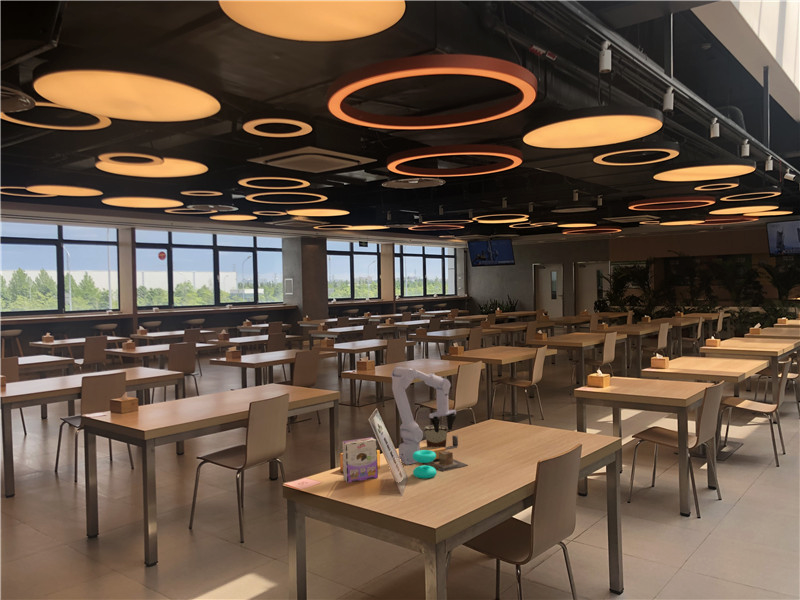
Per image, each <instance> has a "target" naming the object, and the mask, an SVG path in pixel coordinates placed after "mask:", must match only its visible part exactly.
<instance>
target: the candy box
mask: <svg viewBox="0 0 800 600" xmlns="http://www.w3.org/2000/svg"><path fill="white" fill-rule="evenodd" d="M341 442H342V444H341V445H342V446H341V447H342V470H343V472H342V473H343V480H344V481H345V482H346V483H355V482H360V481H365V480H367V481H368V480H371V479H373V480H374V479H377V478H378V479H379V470H378V469H379V468H378V466H379V465H378V445H377V443H378V441H377V439H376V438H374V437H371V436H370V437H366V438H365V437H363V438H357V439H350V440H348V439H347V440H343V441H341Z"/></svg>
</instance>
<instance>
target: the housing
mask: <svg viewBox="0 0 800 600" xmlns="http://www.w3.org/2000/svg"><path fill="white" fill-rule="evenodd" d="M453 454H454V453H453V452H452V451H450V450H446V451H442V452H439V463H440V464H443V465H449V464H453V459H454V455H453Z"/></svg>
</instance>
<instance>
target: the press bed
mask: <svg viewBox="0 0 800 600" xmlns="http://www.w3.org/2000/svg"><path fill="white" fill-rule="evenodd" d="M423 464H424V465H427V466H432V467H434V468H435V469H436V471H437V470H438V471H440V472H447V471H450V470H455V469H459V468H464V467H468V463H467V464H466V463H464V462H461V461H459V460H458V459H457V460H456V459H454V458H453V464H449V465H443V464H440V463H439V459H435V460H433V461H431V462H427V463H423Z"/></svg>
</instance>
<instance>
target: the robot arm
mask: <svg viewBox="0 0 800 600" xmlns="http://www.w3.org/2000/svg"><path fill="white" fill-rule="evenodd" d="M390 376H391V379H392V384H391V389H392V394H393V397H394V400H395V403H396V406H397V409H398V413H399V416H400V420H401V424H400V426H399V428H400V433H399V434H400V438H402V441H403V443H400V444H399V445H398V459H399V458H400V459H401V461H402V462H401V463H402V464H404V465H405V466H406V465H412V464H418V463H419V462H417V461H415V460H414V459H413V453H414V452H416V451H419V450H421V448H420V447H421V445H420V443H421V442H422V440H423V436H424V431H423V430H422V429H421V428H420V426H419V424H418V423H417V422H416V421H415V420H414V419H415V418H414V416H413V415H414V414H413V413H412V410H411V405H410V402H409V399H408V396H407V392H406V389H407V388H408V387H409V386H410V385H411V384H412V382H413V381H414V380H416V379H418V380H420V381H423V382H424V384H425V385H427V386H429V387H431V388H434V390H436V391H435V393H436V396H435V397H436V411H435V412H432V413H428V414H429V415H428V416H429V419H430V422H431V423H432V425H433V426H434V429H435V432H437V433H438V432H439V425H440V421H441V419H440V418H439V417H446V420H447V421H446V422H447V428H448V431H452V429H453V425H454V422H455V420H456V419H457V416H456V415H457V410H456V409H449V406H450V405H449V393H450V388H451V387H452V384H451V382H450V380H449V379H448V378H444V377H442V376H441V375H436V373H435V372H430V373H425V372H423V371H420V370H418V369H415V368H411V367H401V366H395V367H394V368H393V370H392V372H391V374H390Z"/></svg>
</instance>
